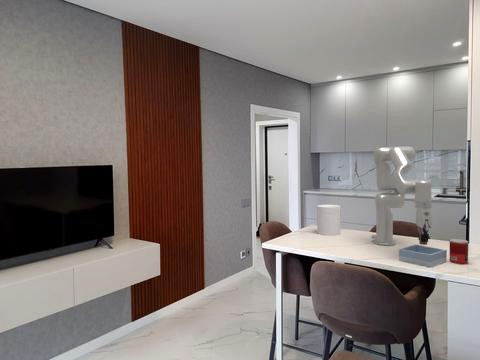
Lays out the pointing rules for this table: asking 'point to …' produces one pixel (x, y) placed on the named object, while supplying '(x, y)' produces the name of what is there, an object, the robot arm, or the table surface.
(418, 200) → the robot arm
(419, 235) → the walnut peg
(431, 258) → the slate box
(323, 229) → the canister
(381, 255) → the table surface
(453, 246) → the canned food
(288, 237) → the table surface
